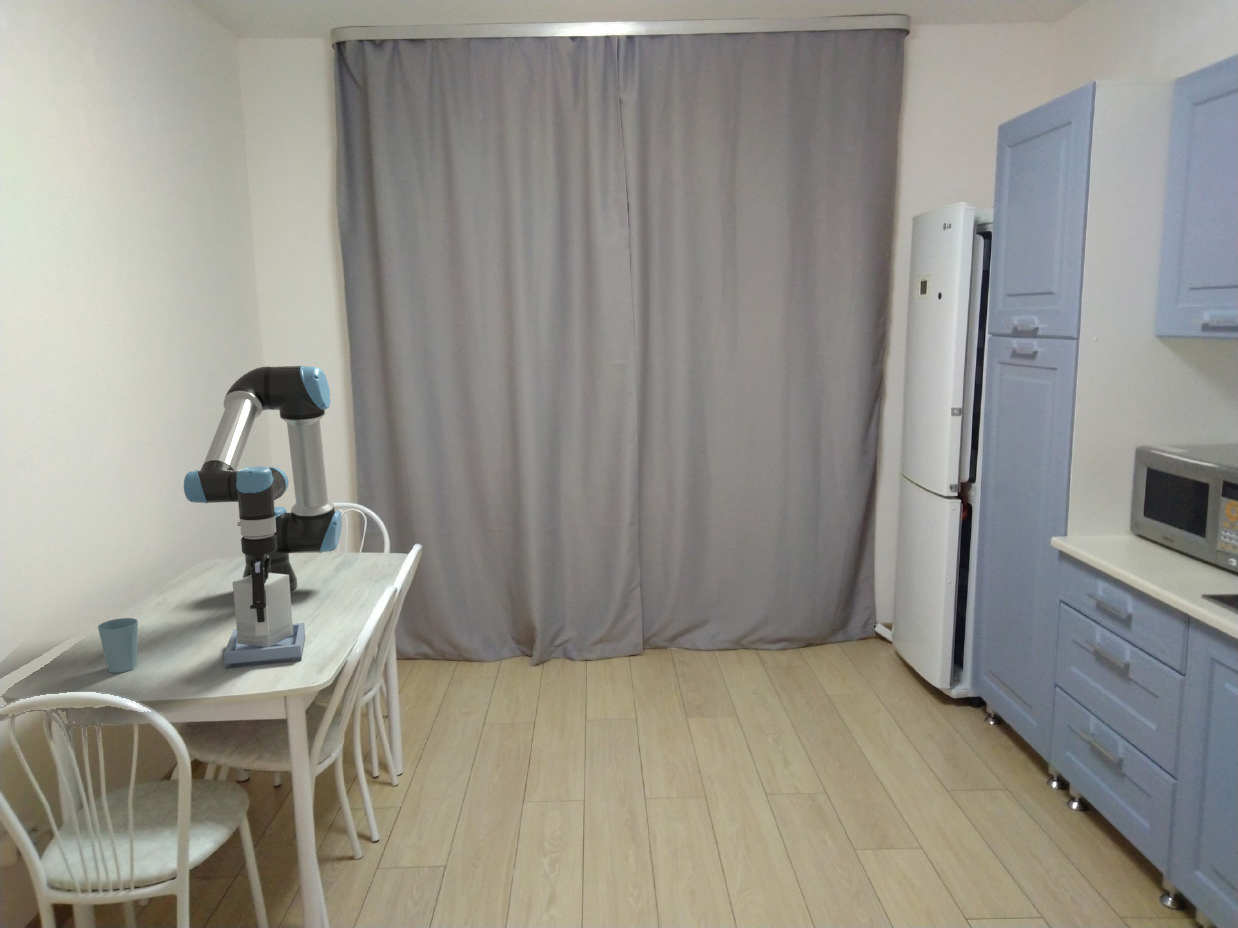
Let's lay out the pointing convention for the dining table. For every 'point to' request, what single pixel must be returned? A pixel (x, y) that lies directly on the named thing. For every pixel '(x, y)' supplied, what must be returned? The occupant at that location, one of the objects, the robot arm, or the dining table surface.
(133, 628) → the cup
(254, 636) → the supplement box
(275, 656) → the bin
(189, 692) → the dining table surface
